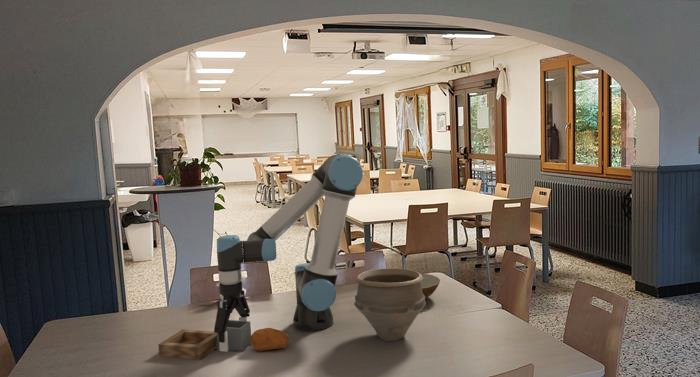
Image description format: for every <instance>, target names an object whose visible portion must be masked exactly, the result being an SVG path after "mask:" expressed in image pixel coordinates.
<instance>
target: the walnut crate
mask: <svg viewBox="0 0 700 377" xmlns="http://www.w3.org/2000/svg"><path fill="white" fill-rule="evenodd" d="M157 345H158V356H159V357H163V358H164V357H166V358H175V359H176V358H178V359H188V360H190V359H191V360H202V359H203V358H204V357H206V356H207V355H208V354H210V353H211V352H213V351H214V350H215V349H216V348H218V345H217V333H216V332H214V330H213V331H211V330H200V329H199V330H195V329H180V331H178V332H176V333H175V334H173V335H172V336H169V337H168V338H166V339H165V340H163V341H161V342H160V343H158V344H157Z"/></svg>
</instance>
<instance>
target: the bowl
mask: <svg viewBox="0 0 700 377" xmlns="http://www.w3.org/2000/svg"><path fill="white" fill-rule="evenodd" d="M419 273H420V274H421V275H422V276H423V280H422V281H421V287H422V292H423V294H424V295H425V300H427V298H429V297H430V296H432V295H433V293H435V292H436V290H437V289H438V287H439V284H440V282H441V279H440V278H439V277H438V276H435V275H433V274H429V273H424V272H423V273H422V272H419Z"/></svg>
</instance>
